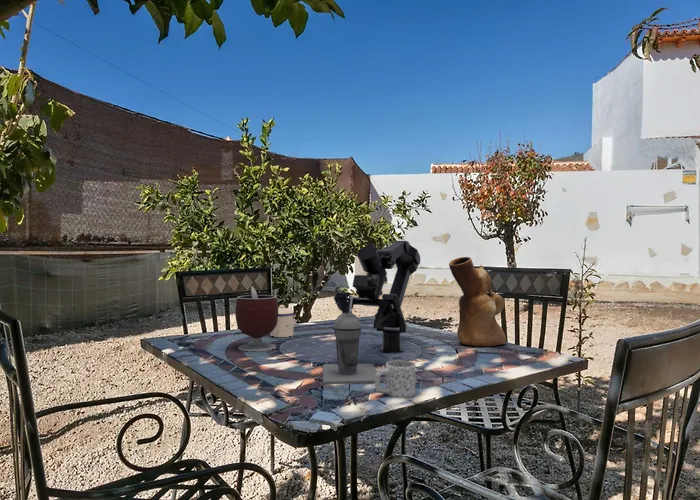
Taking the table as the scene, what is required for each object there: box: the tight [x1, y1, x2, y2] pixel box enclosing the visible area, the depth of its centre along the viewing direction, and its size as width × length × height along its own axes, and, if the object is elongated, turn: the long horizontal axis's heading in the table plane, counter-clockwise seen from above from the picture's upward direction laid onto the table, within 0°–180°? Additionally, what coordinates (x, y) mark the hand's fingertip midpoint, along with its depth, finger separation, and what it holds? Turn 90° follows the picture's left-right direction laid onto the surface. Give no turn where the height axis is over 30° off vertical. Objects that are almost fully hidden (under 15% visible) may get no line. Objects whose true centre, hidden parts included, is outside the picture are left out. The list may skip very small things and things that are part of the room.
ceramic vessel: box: [448, 256, 507, 347], centre depth 166 cm, size 16×22×30 cm
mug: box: [374, 359, 416, 398], centre depth 109 cm, size 10×7×7 cm
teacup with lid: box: [269, 304, 295, 338], centre depth 182 cm, size 12×9×12 cm
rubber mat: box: [322, 362, 382, 385], centre depth 127 cm, size 18×14×1 cm
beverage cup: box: [333, 294, 362, 375], centre depth 126 cm, size 7×7×20 cm
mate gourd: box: [234, 285, 279, 352], centre depth 161 cm, size 16×14×20 cm
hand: (358, 326), depth 133 cm, fingers open, 9 cm apart
